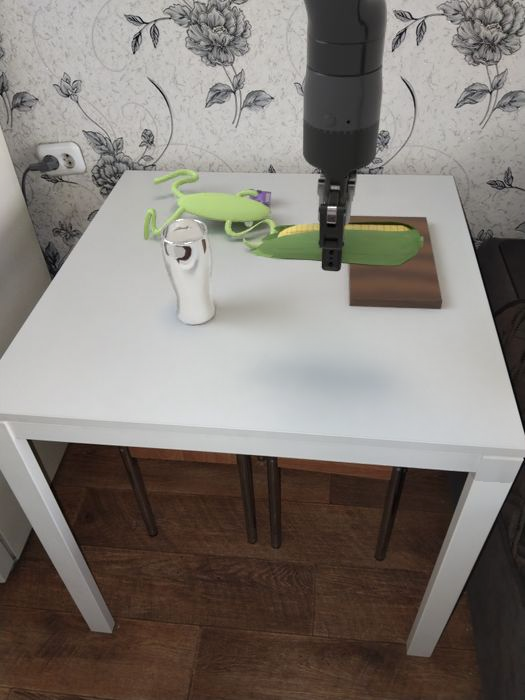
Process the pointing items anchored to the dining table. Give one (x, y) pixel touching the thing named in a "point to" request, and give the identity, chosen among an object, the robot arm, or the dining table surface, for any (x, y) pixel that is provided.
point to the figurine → (215, 207)
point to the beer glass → (189, 268)
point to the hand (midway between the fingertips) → (333, 254)
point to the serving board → (397, 275)
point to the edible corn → (346, 243)
